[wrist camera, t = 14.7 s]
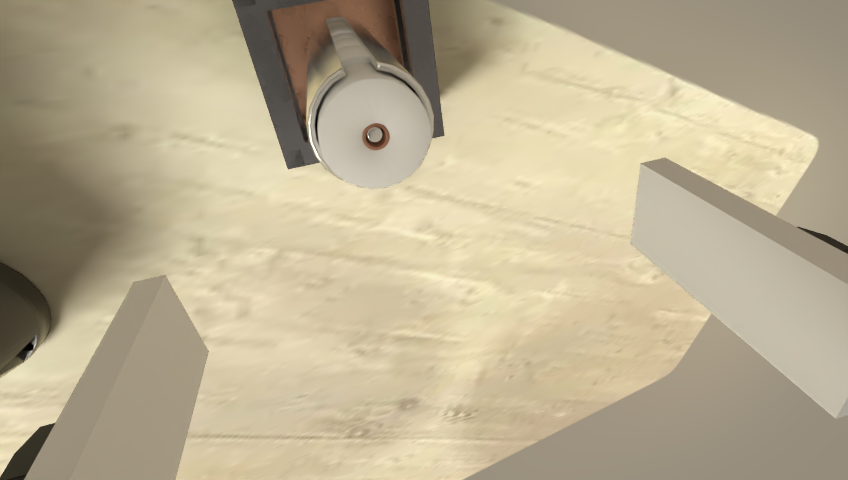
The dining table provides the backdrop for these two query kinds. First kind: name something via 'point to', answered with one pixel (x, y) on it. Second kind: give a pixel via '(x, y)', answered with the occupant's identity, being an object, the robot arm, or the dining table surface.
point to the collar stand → (287, 55)
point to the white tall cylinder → (363, 107)
